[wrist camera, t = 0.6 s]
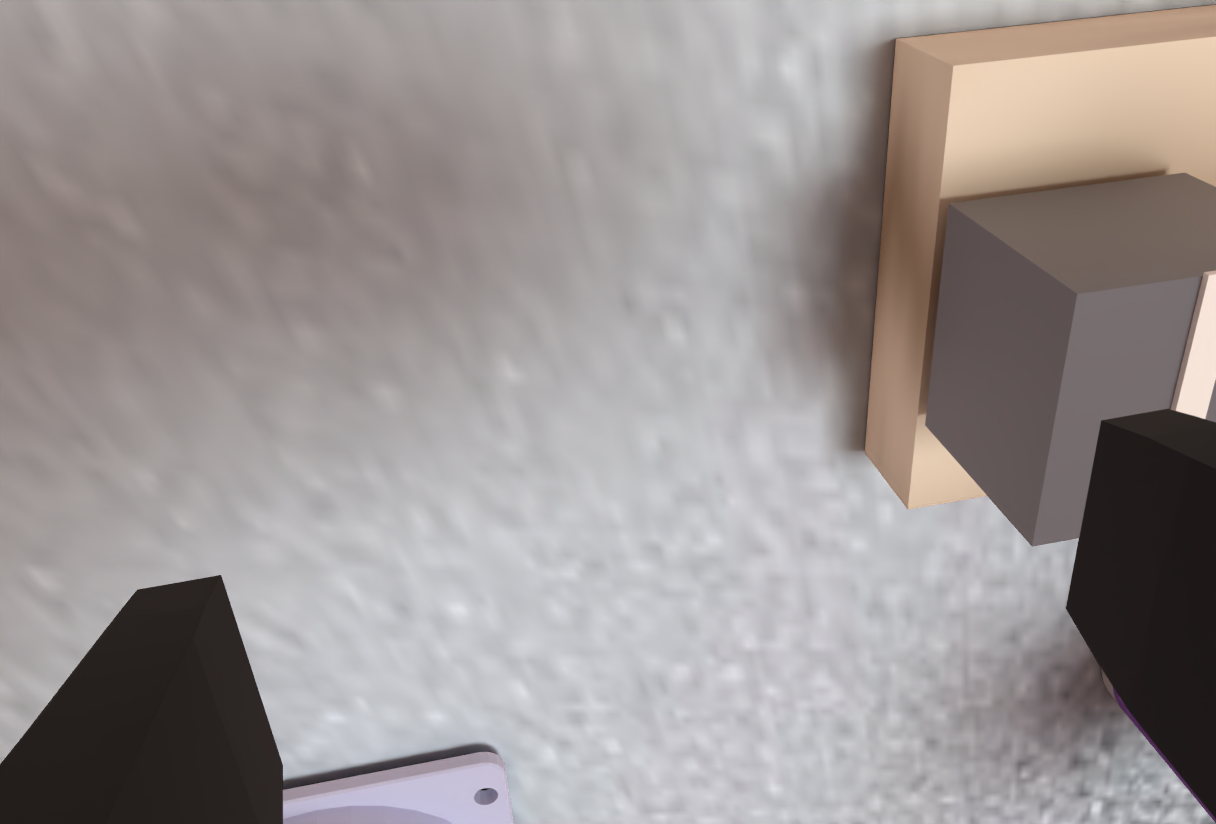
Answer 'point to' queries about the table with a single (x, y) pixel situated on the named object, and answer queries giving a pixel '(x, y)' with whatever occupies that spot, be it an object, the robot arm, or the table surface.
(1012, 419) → the fader knob
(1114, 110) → the fader console
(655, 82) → the table surface
